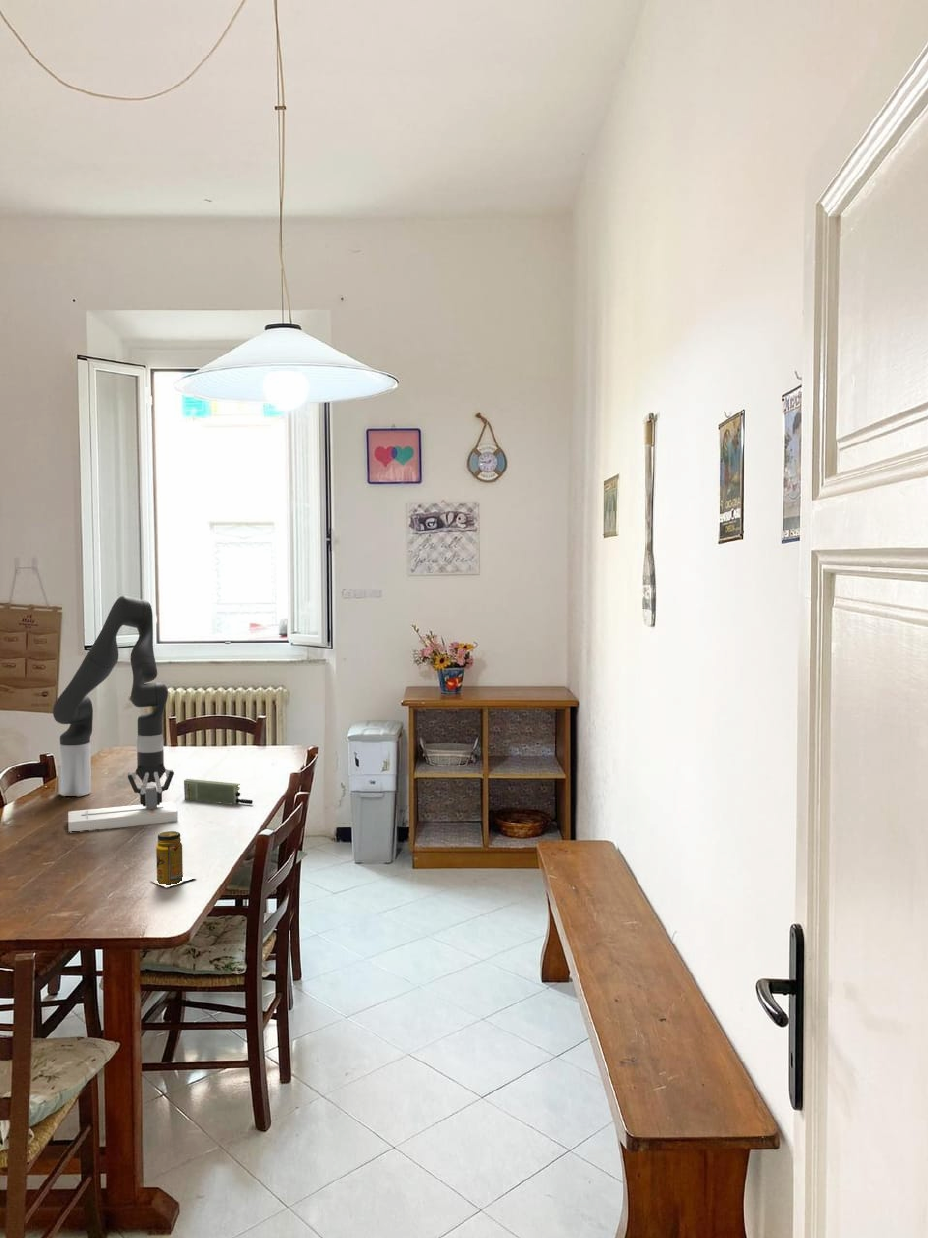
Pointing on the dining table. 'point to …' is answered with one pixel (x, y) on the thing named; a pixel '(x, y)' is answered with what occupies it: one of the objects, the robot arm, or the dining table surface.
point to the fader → (151, 797)
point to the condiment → (169, 858)
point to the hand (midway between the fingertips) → (151, 804)
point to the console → (121, 816)
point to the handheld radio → (213, 791)
